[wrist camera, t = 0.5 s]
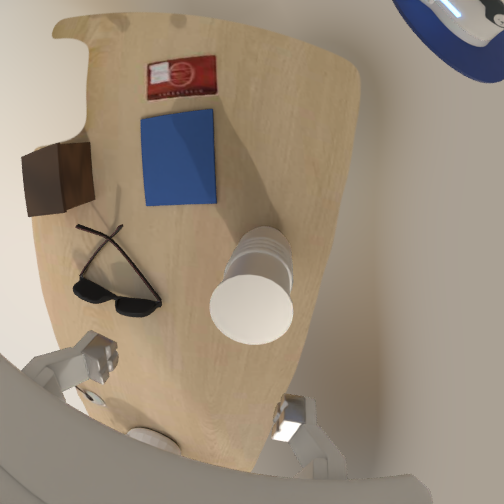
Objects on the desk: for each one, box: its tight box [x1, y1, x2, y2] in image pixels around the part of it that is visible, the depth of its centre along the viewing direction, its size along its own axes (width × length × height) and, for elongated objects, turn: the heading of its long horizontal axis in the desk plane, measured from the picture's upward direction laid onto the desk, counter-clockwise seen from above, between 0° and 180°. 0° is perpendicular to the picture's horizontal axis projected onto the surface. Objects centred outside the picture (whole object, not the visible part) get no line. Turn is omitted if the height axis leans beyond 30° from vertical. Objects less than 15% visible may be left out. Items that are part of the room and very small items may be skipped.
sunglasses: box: [73, 224, 162, 317], centre depth 37 cm, size 17×14×5 cm
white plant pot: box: [126, 428, 181, 456], centre depth 56 cm, size 21×17×10 cm
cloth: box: [141, 109, 217, 206], centre depth 32 cm, size 12×10×1 cm
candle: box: [210, 226, 293, 345], centre depth 28 cm, size 7×7×15 cm
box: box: [21, 142, 95, 217], centre depth 31 cm, size 9×9×8 cm
